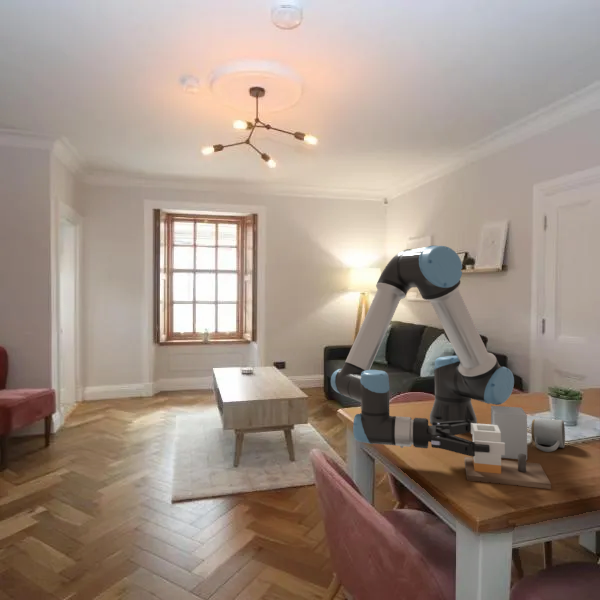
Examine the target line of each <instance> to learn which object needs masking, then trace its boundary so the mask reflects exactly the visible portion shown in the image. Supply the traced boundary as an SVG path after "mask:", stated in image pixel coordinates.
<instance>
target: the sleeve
mask: <svg viewBox="0 0 600 600" xmlns="http://www.w3.org/2000/svg"><path fill="white" fill-rule="evenodd" d="M485 424H486V423H477V424H473V434H472V442H475V440H479V441H491V442H501V432H500V430H499V427H498V425H485ZM501 460H502V458H501V455H498V454H486V453H475V456H474V457H473V465H474V470H475V471H479V472H489V473H499V474H501Z"/></svg>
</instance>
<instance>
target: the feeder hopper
mask: <svg viewBox="0 0 600 600" xmlns="http://www.w3.org/2000/svg"><path fill="white" fill-rule="evenodd" d="M490 422H491V423H490V424H491V425H498V427H499V430H500V432H501V442H503V443H505V455H501V459H512V460H518V454H520V453H521V454H525V455H526V461H527V460H528V415H527V413H526V412H525V411H524V409H523V407H520V406H519V407H517V406H504V405H503V406H501V405H491V406H490Z"/></svg>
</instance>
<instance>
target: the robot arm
mask: <svg viewBox="0 0 600 600" xmlns="http://www.w3.org/2000/svg"><path fill="white" fill-rule="evenodd" d="M462 269H463V264H462V260H461V257H460V255H458V253H457V252H456V251H455V250H454V249H452V248H451V247H449V246H445V245H428V246H424V247H415V248H407V249H404V250H401V251H400V252H398V253H396V254H395V255H394V256H393V257H392V258H391V259H390V261H388V263H387V264H386V266H385V267H384V269H383V271H382V272H381V274H380V276H379V278H378V280H377V283H376V284H375V287H376V289H377V291H376V292H375V294H374V298H373V299H372V301H371V304H370V306H369V308H368V310H367V313H366V315H365V316H364V319H363V320H362V324H361V326H360V328H359V330H358V333H357V335H356V337H355V340H354V341H353V343H352V346H351V348H350V350H349V353H348V355H347V357H346V359H345V361H344V364H343V366H342V368H338V369H336V370H335V371H334V372H333V373H332V374H331V377H330V386H331V388H332V389H333V391H335V392H336V393H338V394H340V395H341V396H342V397H346V398H350V399H353V400H354V401H358V402H359V403H360V404H361V405H360V408H361V413H356V414H355V415H354V418H353V427H352V432H353V438H354V440H355V441H356V442H357V443H358V442H359V443H365V444H369V445H386V446H399V447H400V448H402V449H403V448H404V447H411V446H412V445H413V447H414V448H418V449H420V448H421V449H428V448H429V443H431V448H435V449H441V450H444V451H450V452H453V453H455V454H462V455H464V456H467V457H474V456H475V453H486V454H498V455H505V443H503V442H491V441H479V440H475V442H473V440H469V439H466V438H463V437H460V436H457V435H462V434H467V433H468V434H469V433H470V434H471V435H473V424H478V418H477V415H476V413H475V410H474V407H473V404H472V400H475V401H478V402H481V403H485V404H488V405H490V404H491V405H494V406H500V405H502V404H504V403H506V401H507V400H508V399H510V397H511V395H512V393H513V390H514V385H515V377H514V374H513V372H512V370H511V369H509V367H508V368H507V367H506V366H501V365H500V364H499V361H498V359H497V357H496V355H494V354H493V353H492V352H488V350H487V348H486V345H485V343H484V342H483V340H482V337H481V336H480V333H479V331H478V327H476V324H475V323H474V320H473V318H472V316H471V313H470V312H469V310H468V307H467V305H466V303H465V301H464V299H463V297H462V294H461V292H460V290H459V288H460V286H461V279H462V276H463V271H462ZM412 288H417V290H418V292H419V294H420V296H421V298H422V299H423V300H425V301H428V302H429V303H430V304H431V306H432V308H433V310H434V312H435V314H436V316H437V318H438V320H439V322H440V325H441V327H442V329H443V330H444V332H445V334H446V337H447V338H448V340H449V343H450V345H451V347H452V348H453V352H455V355H446V356H440V357H437V358H436V359H435V360H434V368H433V370H434V371H433V375H434V376H433V377H434V402H433V405H432V407H431V408H432V409H431V410H430V414H429V419H428V418H425V417H424V418H422V417H414V418H413V419H412V417H411V416H395V415H393V416H392V415H391V414H390V389H391V387H390V379H389V377H390V376H389V373H388V372H386V371H385V370H383V369H382V370H378V369H371V367H372V365H373V363H374V361H375V358H376V356H377V354H378V351H379V349H380V348H381V347H380V346H381V345H382V342H383V341H384V337H385V335H386V334H387V331H388V329H389V327H390V324H391V321H392V319H393V317H394V315H395V313H396V311H397V308H398V306H399V304H400V302H401V300H403V299H405V298H406V295H407V294H408V292H409V291H410V289H412ZM429 423H430V424H431V425H429ZM484 424H485V425H491V423H487V424H486V423H484Z"/></svg>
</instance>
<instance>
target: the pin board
mask: <svg viewBox="0 0 600 600" xmlns="http://www.w3.org/2000/svg"><path fill="white" fill-rule="evenodd" d="M463 457H464V460H463V461H464V467H465V474H466V480H467V481H473V482H480V481H481V482H482V483H489V482H491V483H492V484H499V483H500V484H499V485H510V486H517V485H518V487H519V486H520V487H528V488H537V489H546V490H547V489H548V490H551V489H552V483H551V481H550V479H549V477H548V476H547V475H546V473H545V470H544V469H543V467H542V465H541V463H537V462H528V461H527V460H526V455H525V454H521V453H520V454H518V459H517V460H515V461H514V460H505V459H504V460H503V459H501V474H499V473H489V472H479V471H475V470H474V465H473V457H472V456H463ZM481 482H480V483H481Z"/></svg>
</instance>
